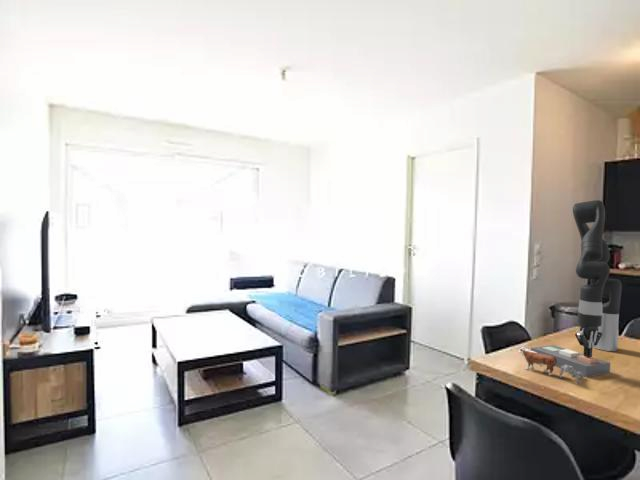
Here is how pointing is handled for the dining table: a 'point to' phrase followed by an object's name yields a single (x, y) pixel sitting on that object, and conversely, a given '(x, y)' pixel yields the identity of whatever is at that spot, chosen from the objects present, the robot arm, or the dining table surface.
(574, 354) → the cream button
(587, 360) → the terracotta button
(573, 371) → the grey human figurine
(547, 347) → the sage button
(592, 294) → the robot arm
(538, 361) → the bull figurine
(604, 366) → the button panel
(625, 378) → the dining table surface
